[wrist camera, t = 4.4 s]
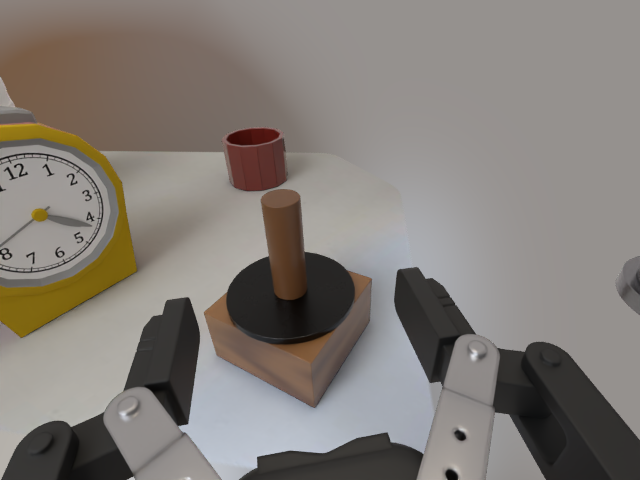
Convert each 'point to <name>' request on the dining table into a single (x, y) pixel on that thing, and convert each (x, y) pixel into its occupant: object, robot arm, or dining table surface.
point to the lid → (289, 282)
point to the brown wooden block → (292, 348)
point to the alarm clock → (56, 222)
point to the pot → (255, 158)
